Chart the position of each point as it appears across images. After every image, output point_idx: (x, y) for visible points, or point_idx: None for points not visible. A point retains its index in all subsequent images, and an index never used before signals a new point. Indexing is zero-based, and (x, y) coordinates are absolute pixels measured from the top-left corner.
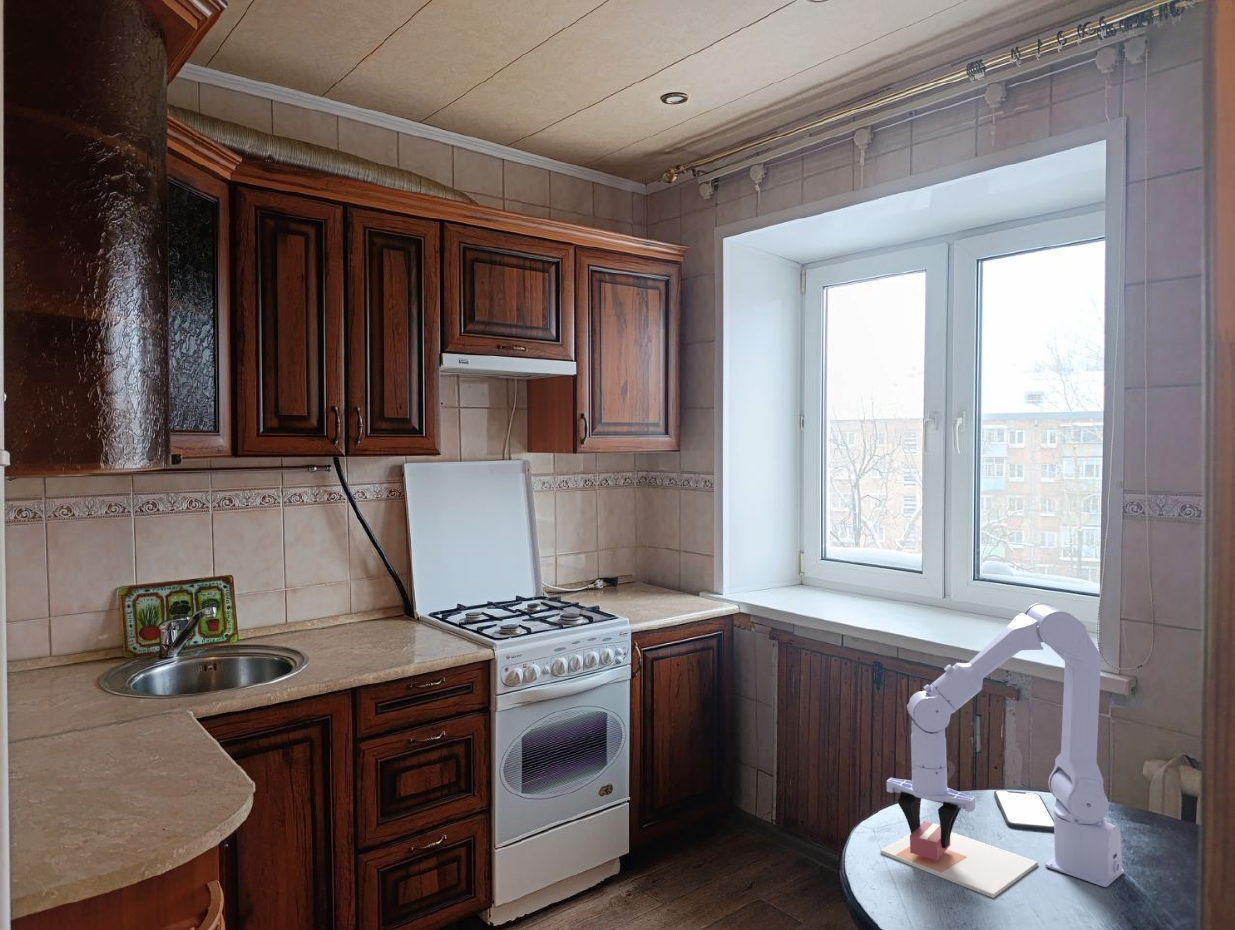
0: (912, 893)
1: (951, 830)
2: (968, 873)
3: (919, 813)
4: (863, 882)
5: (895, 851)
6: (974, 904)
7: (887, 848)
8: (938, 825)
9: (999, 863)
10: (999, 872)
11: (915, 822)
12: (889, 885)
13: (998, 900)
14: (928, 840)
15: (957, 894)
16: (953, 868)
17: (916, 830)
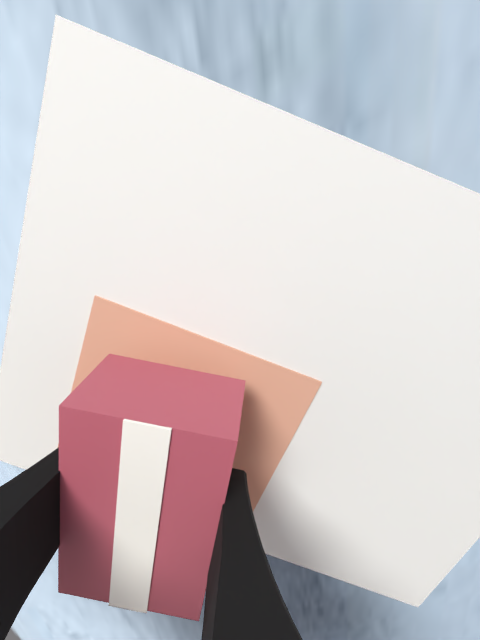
0: (177, 630)
1: (257, 532)
2: (334, 511)
3: (4, 533)
4: (39, 619)
5: (39, 446)
6: (352, 633)
7: (3, 433)
8: (161, 442)
9: (474, 385)
10: (461, 466)
11: (31, 560)
12: (107, 613)
13: (428, 598)
14: (156, 612)
15: (301, 603)
16: (276, 497)
17: (66, 537)
